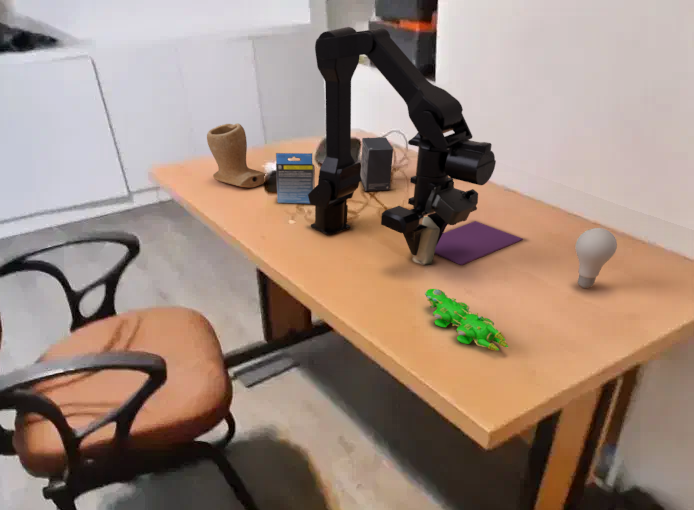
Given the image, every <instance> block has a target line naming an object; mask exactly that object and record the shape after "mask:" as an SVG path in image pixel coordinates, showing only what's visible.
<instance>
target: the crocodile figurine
mask: <svg viewBox="0 0 694 510" xmlns="http://www.w3.org/2000/svg"><path fill="white" fill-rule="evenodd" d="M424 295H425V297H426V298H427V301H428V302H429V305H430V306H429V307H430V308H431V309H434V311H433V312H432V316H433V317H434V318H435V320H434V322H433V323H434V325H435V326H437V327H440V328H447V326H449V325H450V324H452V325H451V326H452V327H454V326H456V333H457V334H458V335H457V337H456V340H457V342H459V343H461V344H464V345H471V343H472V342H474V343H475V345H477V346H478V347H483V348H488V349H489V350H491V351H496V352H497V351H500V349H499V347H498V346H497V345H495V343H496V344H498V345H499V346H500V347H503V348H509V345H508V343H507V342H506V337H505V336H504V334H503V333H502V331H499V330H498V328H497V327H496V326H495V322H494V320H492V319H490V318H488V317H484V316H483V315H479V313H478V312H476V313H473V312H472V311H471V310H470V306H469V305H468V304H467V303H465V302H462V301H461V302H457V299H456V298H455V297H449V296H448V295H447V294H446V292H445V291H442V290H441V289H439V288H429V289H427V290H426V291H425V292H424ZM435 308H436V309H435Z"/></svg>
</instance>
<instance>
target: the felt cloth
mask: <svg viewBox="0 0 694 510" xmlns="http://www.w3.org/2000/svg"><path fill="white" fill-rule="evenodd" d="M523 240H524V238H522V237H520V236H517V235H515V234H511V233H508V232H506V231H504V230H501V229H498V228H495V227H493V226H489V225H487V224H484V223H482V222H479V221H476V220H474V221H472V222H469V223H466V224H463V225H461V226H458V227H455V228H453V229H450V230H448V231H446V232H445V231H444V232H443V234H442V236H441V238H440V240H439V242H438V244H437V246H436V249H435V253H434V255H437V256H438V257H440V258H441V257H442V258H443V259H446V260H448V261H450V262H453V263H455V264H457V265H460V266H463V265H466V264H468V263H470V262H473V261H475V260H478V259H480V258H483V257H485V256H488V255H490V254H492V253H495V252H497V251H500V250H502V249H505V248H507V247H510V246H512V245H514V244H516V243H519V242H521V241H523Z"/></svg>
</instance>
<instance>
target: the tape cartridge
mask: <svg viewBox="0 0 694 510" xmlns="http://www.w3.org/2000/svg"><path fill="white" fill-rule="evenodd" d="M293 158H295V159H299V160H289V159H293ZM275 161H276V162H275V173H276V202H277V204H307V205H308V204H309V205H311V204H310V202H309V198H308V194H309V193H310V192H311V191H312V190H313V189H314V188H315V187H316V166H315V164H313V153H311V152H310V153H309V152H308V153H307V152H306V153H305V152H304V153H303V152H275Z"/></svg>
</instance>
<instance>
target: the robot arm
mask: <svg viewBox="0 0 694 510" xmlns="http://www.w3.org/2000/svg"><path fill="white" fill-rule="evenodd" d="M314 51H315V59H316V66H317V70H318V71H319V73H320V75H321V76H322V78H323V80H324V85H325V87H324V89H325V94H324V95H325V148H326V149H325V157H324V160H323V162H322V164H321V166H320V168H319V170H318V181H317V185H315V188H314V189H313V190H312V191H311V192H310V193H309V194H308V198H309V202H310V204H309V205H311V206H314V223H310V228H312V229H314V230H316V231H318V232H320V233H322V234H324V235H326V236H331V235H335V234H337V233H341V232H343V231H347V230H349V229H351V227H352V226H351V225H350V224H348V212H349V211H348V210H349V209H348V208H349V207H348V206H349V205H348V204H347V203H348V200H349V199H352V198H353V197H354V193H355V192H356V191H357V189H358V188H359V187H360V183H362V182H361V181H362V180H361V175H360V172H361V161H356V160H355V158H354V156H353V155H352V152H351V151H352V148H351V147H352V145H351V144H352V142H351V141H352V140H351V139H352V78H353V76H354V74H355V72H356V71H357V70H356V69H357V68H358V65H359V63H360V56H363V55H364V56H366V57H367V58H368V59H369V61H370V62H371V64H373V65H374V67H375V69H377V70H378V72H379V73H380V74H381V75H382V76H383V77H384V78H385V80H386V82H388V83H389V84H390V86H391V87H392V88H393V89H394V91H395V92H396V93H397V94H398V95H399V96H400V98H402V100H403V101H404V104H406V106H407V114H408V118H409V119H410V121H411V123H412V124H413V126H414V128H415V130H416V131H417V133H416V134H415V135H414V136H413V137H412V138H411V139H409V140H408V141H407V144H408V145H409V146H412V147H413V146H414V147H418V149H417V160H416V170H415V175H413V176H410V181H409V183H411V184H414V189H413V196H412V197H409V198H408V201H407V204H408V205H410V206H412V208H411V209H408V208H405V207H403V206H401V205H397V206H394V207H391V208H388V209H385V210H384V211H383V212H382V213H381V218H380V226H383V227H385V228H388V229H390V230H393V231H395V232H397V233H400V234H402V235H403V237H404V240H405V243H406V244H407V246H408V249H409V252H410V254H411V256H412V255H414V256H416V255H417V252H418V249H419V243H420V237H421V232H422V231H424V230H425V229H426V228H427V226H424V225H422V222H423V218H424V217H430V218H431V219H432V220H433V221H434V223H435V224H436V225H437V226H438V227H439V229H440V232H439V236H438V240H437V244H438V242H439V240H440V238H441V236H442V234H443V233H445V230H446V229H447V226H456V225H457V224H458V223H459V224H460V223H462V222H466V221H468V218H469V216H470V214H471V213H472V212H475V211H477V209H478V207H477V205H478V203H479V192H477V190H475V189H474V188H472V189H468V190H466V191H465V190H462V189H460V188H459V189H458V188H456V187H454V186H455V181H454V180H456V181H461V182H464V183H469V184H472V185H477V186H484V185H486V184H487V183H488V182H489V180H490V179H491V177H492V175H493V173H494V172H495V168H496V164H497V160H496V156H495V153H494V152H493V151H492V143H491V142H488V141H475V140H472V139H473V134H472V132H471V130H470V127H469V126H468V123H467V121H466V119H465V116H464V114H463V111H464V109H463V105H462V104H461V102H460V100H458V99H457V98H456V97H454V95H452V94H451V93H450V92H448V91H447V90H446V89H444V88H442V87H440V86H437V85H434V84H433V83H431V82H430V81H429V80H428V79H427V78H426V77H425V76H424V74H423V73H422V72H421V71H420V70H419V69H418V68H417V67H416V65H415V64H414V63H413V62H412V60H410V59H409V57H408V56H407V55H406V54H405V53H404V51H403V50H402V49H401V48H400V47H399V46H398V44H397V43H396V42H395V41H394V40H393V38H391V34H390V32H389V30H388V29H386V28H383V27H376V28H372V29H367V30H360V31H357V30H356V29H354V28H353V27H351V26H345V27H341V28H336V29H331V30H326V31H323V32H322V33H320V34H319V36H318V38H316V40H315V44H314ZM451 131H452V133H450V134H448V135H445V134H446V133H448V132H451ZM437 244H436V246H437Z"/></svg>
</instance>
